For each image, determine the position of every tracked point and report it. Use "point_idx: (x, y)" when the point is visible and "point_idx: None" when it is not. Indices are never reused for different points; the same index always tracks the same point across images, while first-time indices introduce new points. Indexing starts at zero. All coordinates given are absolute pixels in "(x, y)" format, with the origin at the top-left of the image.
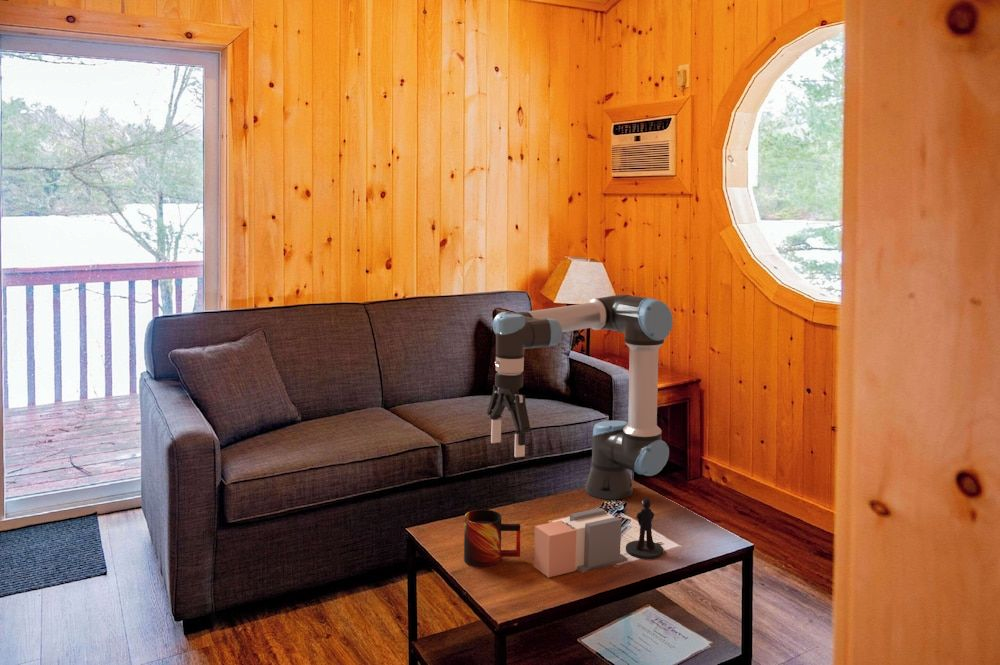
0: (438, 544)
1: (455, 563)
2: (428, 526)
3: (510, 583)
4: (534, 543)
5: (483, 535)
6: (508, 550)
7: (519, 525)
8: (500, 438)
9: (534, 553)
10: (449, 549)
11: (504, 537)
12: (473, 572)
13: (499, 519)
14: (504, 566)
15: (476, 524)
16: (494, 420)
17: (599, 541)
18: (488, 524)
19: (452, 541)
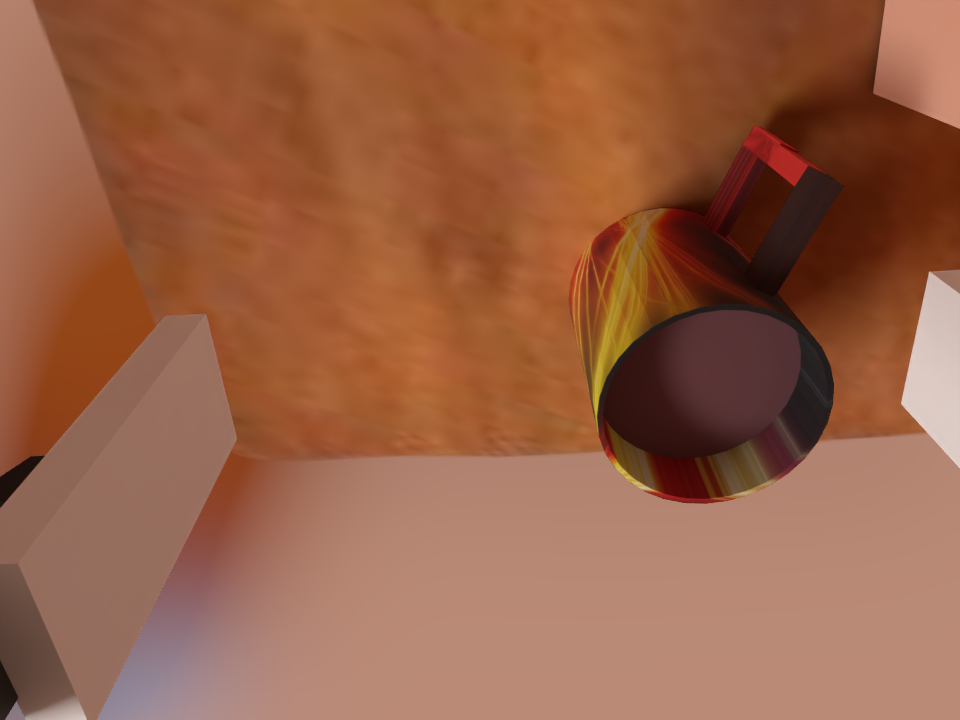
0: (417, 410)
1: None
2: None
3: (936, 270)
4: (942, 121)
5: (789, 405)
6: (734, 194)
7: (839, 191)
8: (189, 347)
9: (912, 107)
10: (487, 385)
11: (452, 77)
12: None
13: (809, 340)
14: None
15: (784, 471)
16: (82, 694)
17: None
18: (826, 417)
19: (406, 346)
